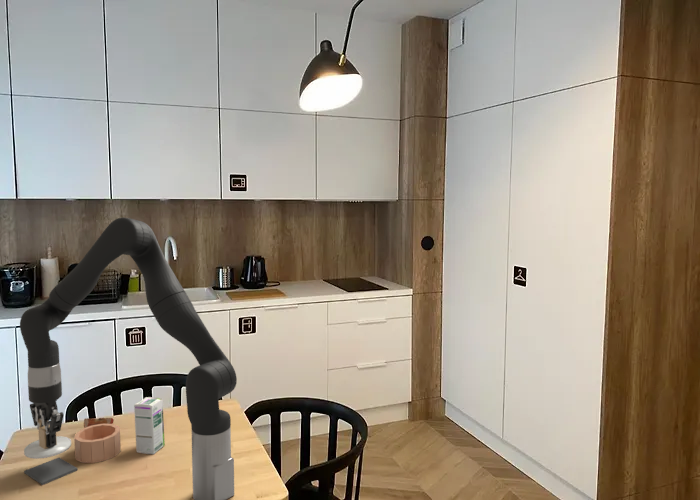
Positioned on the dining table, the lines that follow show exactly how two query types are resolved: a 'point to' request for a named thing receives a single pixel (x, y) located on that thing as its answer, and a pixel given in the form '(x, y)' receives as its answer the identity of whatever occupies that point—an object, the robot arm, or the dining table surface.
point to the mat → (50, 471)
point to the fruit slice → (97, 421)
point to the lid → (40, 449)
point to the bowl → (97, 443)
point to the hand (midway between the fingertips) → (47, 444)
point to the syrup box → (149, 425)
